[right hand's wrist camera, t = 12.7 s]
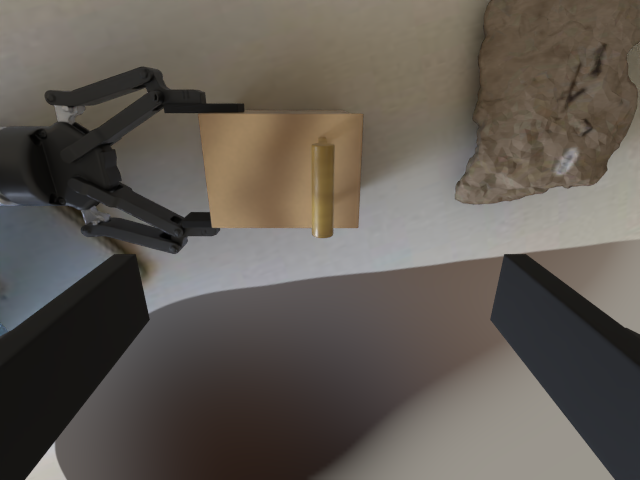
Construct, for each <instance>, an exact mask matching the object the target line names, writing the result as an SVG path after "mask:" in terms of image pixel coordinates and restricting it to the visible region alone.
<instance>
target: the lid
mask: <svg viewBox="0 0 640 480" xmlns="http://www.w3.org/2000/svg"><path fill="white" fill-rule="evenodd" d="M198 118H199V126H200V134H201V142H202V150H203V158H204V167H205V175H206V183H207V191H208V199H209V207H210V216H211V224H212V228H312V235H313V236H314V237H318V238H328V237H331V236H332V235H333V228H358V225H359V202H360V180H361V158H362V135H363V114H362V113H200V114H198Z"/></svg>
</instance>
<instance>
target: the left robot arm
mask: <svg viewBox="0 0 640 480" xmlns="http://www.w3.org/2000/svg"><path fill="white" fill-rule="evenodd" d="M143 88H146V89H147V92H148V93H147V94H145V95H144V96H142V97H141V98H140V99H138V100H137V101H135V102H134V103H133V104H131V105H130V106H128V107H127V108H125V109H124V110H123V111H121V112H120V113H118V114H117V115H116V116H114V117H113V118H111V119H110V120H109V121H107V122H106V123H104V124H103V125H101V126H100V127H99V128H97V129H94V130H92V131H89V130H87V129H86V128H84V127H83V126H81V125H79V124H78V123H76V122H75V117H76V116H77V115H81V114H82V113H83V112H84V111H85V106H90V105H96V104H99V103H102V102H105V101H108V100H111V99H114V98H117V97H120V96H123V95H126V94H129V93H132V92H134V91H137V90H140V89H143ZM45 99H46V101H47V102H48V103H49V104H50V105H54V107H55V111H56V116H57V121H58V122H56V123H55V124H53V125H52V126H50V127H0V206H18V205H24V206H71V207H74V208H76V209H78V210H81V212H82V215H83V218H84V221H85V224H86V225H84V226H83V227H82V228H81V232H82V234H83V235H84V236H86V237H95V236H107V237H111V238H115V239H118V240H122V241H126V242H130V243H134V244H138V245H141V246H145V247H149V248H153V249H157V250H161V251H164V252H168V253H172V254H176V253H178V252H179V251H180V250H181V249H182V248H183V247H184V246H185V245H186V243H187V242H188V239H187V237H188V236H214V235H216V234H217V233H218V232H219V231H220V228H212V224H211V216H210V212H191V213H189V214H188V215H187V216H186V217H185V218H184V217H182V216H180V215H178V214H176V213H174V212H172V211H170V210H168V209H166V208H164V207H162V206H160V205H158V204H157V203H155V202H153V201H151V200H149V199H147V198H145V197H143V196H141V195H139V194H137V193H135V192H133V191H132V189H131V188H130V187H128V186H126V185H124V184H122V183H120V182H119V181H122V180H121V175H120V172H119V170H118V168H117V166H116V159H117V157H116V152H115V149H112V148H111V145H113V144H114V143H116V142H117V141H119V140H120V139H121V137H122V136H124V135H125V134H127V133H128V132H130V131H131V130H133V129H134V128H135V127H137V126H138V125H140V124H141V123H143V122H144V121H146V120H147V119H148V118H150V117H151V116H153V115H154V114H156V113H157V112H159V111H160V110H162V109H163V108H164V112H165V113H240V112H244V104H206V98H205V92H202V91H200V90H171V89H169V88H168V87H167V86H166V85H165V83H164V81H163V75H162V73H161V71H159V70H158V69H153V68H148V67H139V68H136V69H133V70H131V71H128V72H125V73H122V74H119V75H116V76H113V77H110V78H108V79H105V80H102V81H99V82H96V83H93V84H90V85H88V86H85V87H82V88H79V89H76V90H73V91H51V90H50V91H47V92H46V93H45ZM99 203H102V204H104V205H106V206H109V207H115V208H118V209H120V210H122V211H124V212H126V213H128V214H130V215H132V216H134V217H136V218H138V219H140V220H142V221H144V222H146V223H148V224H150V225H152V226H154V227H152V226H148V225H144V224H140V223H137V222H133V221H129V220H125V219H121V218H110V214H108V213H102V212H100V211H98V210H97V208H96V206H97V205H98V204H99ZM155 227H156V228H155ZM7 332H8V331H7V330H6V328H5V327H4V326H3V325H2V324H1V323H0V336H1V335H3V334H5V333H7Z"/></svg>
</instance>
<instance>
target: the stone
mask: <svg viewBox="0 0 640 480" xmlns="http://www.w3.org/2000/svg"><path fill="white" fill-rule="evenodd" d="M484 33H485V39H484V41H483V42H482V46H481V49H480V52H479V55H478V65H479V68H480V86H481V87H480V89H479V91H478V102H477V104H476V108H475V110H474V113H473V121H474V122H476V123H478V126H479V128H478V131H477V137H478V138H477V142H476V143H477V147H476V149H475V154H474V156H473V157H472V158H470V159H469V162H468V164H467V166H466V172H465V174H464V175H463V177H462V178H461V180H460V181H458V183H457V184H456V193H455V199H456V200H458V201H460V202H462V203H468V204H492V203H498V202H501V201H512V200H515V199H520V198H522V197H525V196H528V195H534V194H541V193H544V192H546V191H547V190H548V189H549V188H554V187H557V186H563V187H564V188H570V187H572V186H573V187H575V186H590V185H593V184H595V183H597V182H598V181H599V179H600V178H601V177H602V176H603V175H604V174H605V172H606V171H607V162H608V159H609V158H610V156H611V155H612V153H613V152H614V151H615V150H616V149H618V148H619V146H620V143H621V141H622V140H623V138H624V137H625V136H626V134H627V131H628V129H629V127H630V125H631V122H632V120H633V117H634V114H635V111H636V108H637V97H638V92H637V88H636V86H635V84H633V83H632V82H631V80H630V79H629V76H628V63H627V53H628V52H629V51H630V49H631V48H632V47H633V46H634V45H636V44H637V43H639V42H640V0H491V1H490V2H489V3H488V5H487V8H486V11H485V14H484Z"/></svg>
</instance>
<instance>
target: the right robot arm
mask: <svg viewBox="0 0 640 480" xmlns="http://www.w3.org/2000/svg"><path fill="white" fill-rule="evenodd" d="M149 320H150V319H149V314H148V309H147V305H146V300H145V295H144V291H143V286H142V282H141V277H140V272H139V268H138V263H137V258H136V254H114V255H112V256H111V257H110V258H108V259H107V260H106V261H104V262H103V263H102V264H100V265H99V266H98V267H96V268H95V269H94V270H92V271H91V272H90V273H88V274H87V275H86V276H84V277H83V278H82V279H80V280H79V281H77V282H76V283H75V284H73V285H72V286H71V287H69V288H68V289H67V290H65V291H64V292H63V293H61V294H60V295H59V296H57V297H56V298H55V299H53V300H52V301H51V302H49V303H48V304H47V305H45V306H44V307H43V308H41V309H40V310H39V311H37V312H36V313H34V314H33V315H32V316H30V317H29V318H28V319H26V320H25V321H24V322H22V323H21V324H20V325H18V326H17V327H16V328H14V329H13V330H11V331H9V332H7V333H5V334H3V335H1V336H0V480H25V479H26V478H27V476H28V475H29V474H30V473H31V471H32V470H33V469H34V467H35V466H36V465H37V464H38V462H39V461H40V460H41V458H42V457H43V456H44V455H45V453H46V452H47V451H48V449H49V448H50V447H51V446H52V444H53V443H54V442H55V440H56V439H57V438H58V437H59V435H60V434H61V433H62V431H63V430H64V429H65V428H66V426H67V425H68V424H69V422H70V421H71V420H72V419H73V417H74V416H75V415H76V413H77V412H78V411H79V410H80V408H81V407H82V406H83V405H84V403H85V402H86V401H87V399H88V398H89V397H90V395H91V394H92V393H93V392H94V390H95V389H96V388H97V386H98V385H99V384H100V383H101V381H102V380H103V379H104V378H105V376H106V375H107V374H108V372H109V371H110V370H111V369H112V367H113V366H114V365H115V363H116V362H117V361H118V360H119V358H120V357H121V356H122V354H123V353H124V352H125V351H126V349H127V348H128V347H129V345H130V344H131V343H132V342H133V340H134V339H135V338H136V337H137V335H138V334H139V333H140V331H141V330H142V329H143V327H144V326H145V325H146V324H147V322H148V321H149ZM491 321H492V322H493V324H494V325H495V326H496V328H497V329H498V330H499V331H500V333H501V334H502V335H503V337H504V338H505V339H506V340H507V342H508V343H509V344H510V345H511V347H512V348H513V349H514V351H515V352H516V353H517V354H518V356H519V357H520V358H521V360H522V361H523V362H524V363H525V365H526V366H527V367H528V369H529V370H530V371H531V372H532V374H533V375H534V376H535V377H536V379H537V380H538V381H539V383H540V384H541V385H542V387H543V388H544V389H545V390H546V392H547V393H548V394H549V396H550V397H551V398H552V399H553V401H554V402H555V403H556V405H557V406H558V407H559V408H560V410H561V411H562V412H563V414H564V415H565V416H566V417H567V419H568V420H569V421H570V422H571V424H572V425H573V426H574V427H575V429H576V430H577V431H578V433H579V434H580V435H581V437H582V438H583V439H584V440H585V442H586V443H587V444H588V446H589V447H590V448H591V449H592V451H593V452H594V453H595V455H596V456H597V457H598V458H599V460H600V461H601V462H602V464H603V465H604V466H605V467H606V469H607V470H608V471H609V473H610V474H611V475H612V476H613V478H614V479H615V480H640V334H638V333H636V332H634V331H632V330H630V329H628V328H624V327H623V326H622V325H620V324H619V323H618V322H616V321H615V320H614V319H612V318H611V317H610V316H608V315H607V314H605V313H604V312H603V311H601V310H600V309H599V308H597V307H596V306H595V305H593V304H592V303H591V302H589V301H588V300H587V299H585V298H584V297H583V296H581V295H580V294H579V293H577V292H576V291H575V290H573V289H572V288H571V287H569V286H568V285H567V284H565V283H564V282H562V281H561V280H560V279H558V278H557V277H556V276H554V275H553V274H552V273H550V272H549V271H548V270H546V269H545V268H544V267H542V266H541V265H540V264H538V263H537V262H536V261H534V260H533V259H532V258H530V257H529V256H528V255H526V254H504V258H503V263H502V268H501V272H500V277H499V282H498V286H497V291H496V295H495V300H494V305H493V309H492V314H491Z"/></svg>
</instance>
